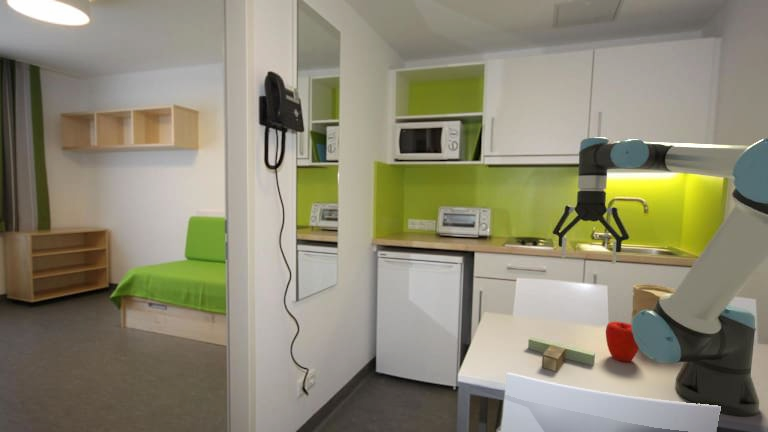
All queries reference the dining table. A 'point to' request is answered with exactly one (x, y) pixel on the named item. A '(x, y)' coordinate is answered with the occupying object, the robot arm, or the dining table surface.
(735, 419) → the dining table surface
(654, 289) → the container
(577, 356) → the rail
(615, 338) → the apple
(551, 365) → the walnut block
